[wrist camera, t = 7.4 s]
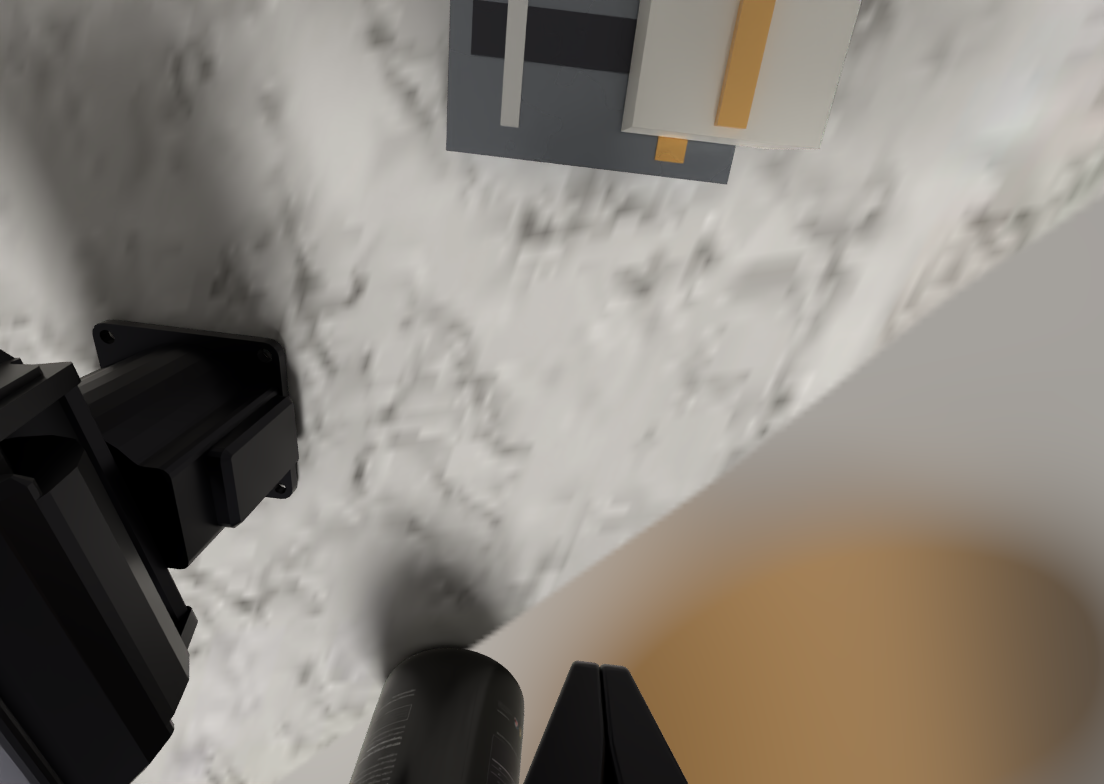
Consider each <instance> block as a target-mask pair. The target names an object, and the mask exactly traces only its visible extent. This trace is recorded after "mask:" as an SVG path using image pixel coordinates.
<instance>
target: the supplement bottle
mask: <svg viewBox="0 0 1104 784" xmlns="http://www.w3.org/2000/svg"><path fill="white" fill-rule="evenodd" d="M523 723H524V700H523V695H522V691H521V689H520V687H519V685H518V683H517V681H516V680H515V678H514V677H513V676H512V675H511V673H510V672H509V671H508V670H507V669H506V668H504V667H503V666H502V665H501V664H499V663H498V662H496V661H495V660H493V659H491V658H489V657H487V656H485V655H483V654H480V653H477V652H474V651H470V650H466V649H459V648H437V649H431V650H427V651H423V652H420V653H417V654H415V655H413V656H411V657H409V658H407V659H406V660H404V661H403V662H401V663H400V664H399V665H398V666H397V667H396V668H395V669H394V670H393V671H392V672H391V673H390V675H389V676H388V678H387V680H386V682H385V684H384V686H383V689H382V692H381V694H380V697H379V700H378V703H377V705H376V708H375V711H374V714H373V717H372V719H371V722H370V725H369V728H368V731H367V734H366V737H365V740H364V743H363V745H362V748H361V751H360V754H359V757H358V760H357V763H356V766H355V769H354V772H353V774H352V777H351V780H350V783H349V784H519V776H520V763H521V750H522V739H523Z"/></svg>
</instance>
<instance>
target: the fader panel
mask: <svg viewBox="0 0 1104 784" xmlns="http://www.w3.org/2000/svg"><path fill="white" fill-rule="evenodd" d="M639 4H640V0H450V34H449V70H448V105H447V141H446V150H447V151H456V152H464V153H472V154H480V155H489V156H497V157H505V158H513V159H522V160H530V161H538V162H547V163H555V164H563V165H571V166H580V167H588V168H596V169H604V170H613V171H621V172H629V173H637V174H646V175H654V176H662V177H671V178H679V179H687V180H695V181H704V182H712V183H720V184H727V182H728V177H729V173H730V168H731V164H732V160H733V155H734V151H735V146H736V145H728V144H720V143H712V142H704V141H695V140H687V139H679V138H671V137H662V136H654V135H646V134H638V133H629V132H621V127H622V120H623V114H624V107H625V100H626V93H627V86H628V79H629V73H630V66H631V59H632V52H633V45H634V39H635V32H636V25H637V18H638V11H639Z"/></svg>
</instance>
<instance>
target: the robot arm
mask: <svg viewBox="0 0 1104 784" xmlns="http://www.w3.org/2000/svg"><path fill="white" fill-rule="evenodd" d="M109 331H110V332H111V333H112V334H113V336H114V338H115V339H113V338H112V337H111V336H110V334H109ZM93 338H94V342H95V346H96V350H97V354H98V359H99V363H100V367H101V369H99V370H96V371H94V372H92V373H90V374H88V375H85V376H83V377H81V378H79V376H78V373H77V371H76V369H75V367H74V365H73V363H72V362H59V363H48V364H36V365H28V364H23V362H22V361H21V359H20V358H14V357H12V356H10V355H9V354H7V353H6V352H4V351H2V350H1V349H0V784H131V783H132V782H133V781H134V780H135V779H136V778H137V777H138V776H139V775H140V774H141V773H142V772H143V771H144V770H145V769H146V768H147V766H148V765H149V764H150V763H151V761H152V760H153V759H154V758H155V756H156V755H157V754H158V752H159V751H160V750H161V749H162V747H163V746H164V745H165V743H166V742H167V741H168V739H169V738H170V737H171V735H172V733H173V731H174V724H173V722H172V720H171V718H172V717H173V715H174V713H175V711H176V709H177V706H178V704H179V702H180V700H181V697H182V695H183V693H184V690H185V688H186V686H187V683H188V681H189V652H188V650H187V649H188V647H189V644H190V642H191V639H192V636H193V634H194V631H195V628H196V626H197V623H198V620H197V618H196V616H195V614H194V612H193V610H192V608H191V607H190V606H186V605H185V603H184V601H183V599H182V597H181V595H180V593H179V591H178V589H177V587H176V584H175V582H174V580H173V578H172V576H171V574H170V572H169V570H168V568H174V569H185V568H187V567H188V566H189V565H190V564H191V563H192V562H193V561H194V560H195V558H196V557H197V556H198V555H199V554H200V553H201V552H202V551H203V550H204V549H205V548H206V547H207V546H208V545H209V544H210V542H211V541H212V540H213V539H214V538H215V537H216V536H217V535H218V534H219V533H220V532H221V531H222V530H223V529H224V528H225V527H230V528H235V527H237V526H238V525H239V524H240V523H242V522H243V521H244V520H245V519H246V518H247V516H248V515H249V514H250V513H251V512H252V511H253V510H254V509H255V508H256V507H257V505H258V504H259V503H260V502H261V501H262V500H263V499H264V498H265V497H270V498H279V499H286V498H288V497H290V496H291V494H292V493H293V492H294V491H295V490H296V488H297V475H296V464H295V463H296V462H297V461H298V459H299V454H298V444H297V433H296V422H295V411H294V403H293V402H292V400H291V399H290V398H289V392H288V382H287V371H286V361H285V353H284V349H283V347H282V346H281V345H280V344H279V343H278V342H277V341H275V340H272V339H269V338H260V337H252V336H244V335H235V334H227V333H219V332H210V331H202V330H194V329H185V328H177V327H169V326H160V325H152V324H144V323H135V322H127V321H119V320H107V321H104V322H101V323H99V324H97V325H95V326H94V328H93ZM264 349H266V350H268V351H269V352H270V353H271V355H272V359H271V358H268V357H267V356H266V355H265V354H264ZM279 483H282V484H283V485H285V487H286V488H284V487H282V486H281V485H279ZM523 784H688V782H687V781H686V779H685V777H684V775H683V773H682V771H681V769H680V767H679V765H678V763H677V761H676V759H675V758H674V756H673V754H672V752H671V750H670V748H669V746H668V744H667V742H666V741H665V739H664V737H663V735H662V733H661V731H660V729H659V727H658V725H657V723H656V721H655V719H654V718H653V716H652V714H651V712H650V710H649V708H648V706H647V704H646V702H645V700H644V698H643V697H642V695H641V693H640V691H639V689H638V687H637V685H636V683H635V681H634V679H633V678H632V676H631V674H630V672H629V670H628V669H627V668H626V667H623V666H617V665H609V664H603V665H601V666H600V667H599V665H598V664H596V663H592V662H584V661H575V662H573V664H572V666H571V668H570V670H569V673H568V675H567V678H566V680H565V683H564V685H563V687H562V690H561V693H560V695H559V697H558V700H557V702H556V705H555V707H554V710H553V712H552V714H551V717H550V719H549V722H548V724H547V727H546V729H545V732H544V734H543V737H542V739H541V742H540V744H539V746H538V749H537V751H536V754H535V756H534V759H533V761H532V764H531V766H530V769H529V771H528V774H527V776H526V778H525V781H524V783H523Z"/></svg>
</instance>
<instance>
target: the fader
mask: <svg viewBox="0 0 1104 784" xmlns="http://www.w3.org/2000/svg"><path fill="white" fill-rule="evenodd" d="M861 1H862V0H640V4H639V11H638V18H637V25H636V32H635V39H634V45H633V52H632V59H631V66H630V73H629V79H628V86H627V93H626V100H625V107H624V114H623V120H622V127H621V132H629V133H638V134H646V135H654V136H662V137H671V138H679V139H687V140H695V141H704V142H712V143H720V144H728V145H737V146H745V147H753V148H761V149H820V145H821V142H822V138H823V135H824V131H825V128H826V124H827V121H828V117H829V114H830V110H831V107H832V103H833V100H834V96H835V93H836V89H837V86H838V82H839V79H840V75H841V72H842V68H843V65H844V61H845V58H846V54H847V51H848V47H849V44H850V40H851V37H852V33H853V29H854V26H855V22H856V19H857V15H858V12H859V8H860V5H861Z"/></svg>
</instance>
